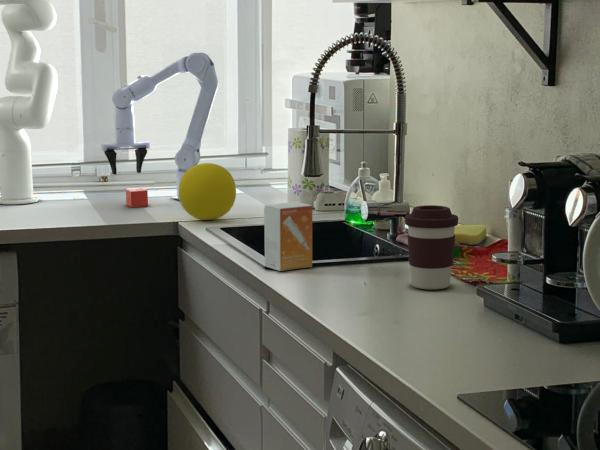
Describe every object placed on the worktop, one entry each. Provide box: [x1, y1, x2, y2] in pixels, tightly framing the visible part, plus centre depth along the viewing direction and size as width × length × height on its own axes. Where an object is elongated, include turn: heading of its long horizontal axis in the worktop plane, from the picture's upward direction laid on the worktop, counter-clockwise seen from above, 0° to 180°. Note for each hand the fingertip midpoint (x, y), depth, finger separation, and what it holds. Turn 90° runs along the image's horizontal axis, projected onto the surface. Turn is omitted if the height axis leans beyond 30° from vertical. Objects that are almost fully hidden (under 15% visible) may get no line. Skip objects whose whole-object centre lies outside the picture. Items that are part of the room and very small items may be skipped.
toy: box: [179, 162, 237, 221], centre depth 277 cm, size 15×15×15 cm
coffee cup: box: [404, 204, 459, 291], centre depth 197 cm, size 10×10×15 cm
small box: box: [263, 201, 313, 272], centre depth 215 cm, size 8×6×13 cm
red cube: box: [125, 187, 149, 208], centre depth 305 cm, size 5×5×5 cm
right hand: (126, 173), depth 318 cm, fingers open, 7 cm apart
